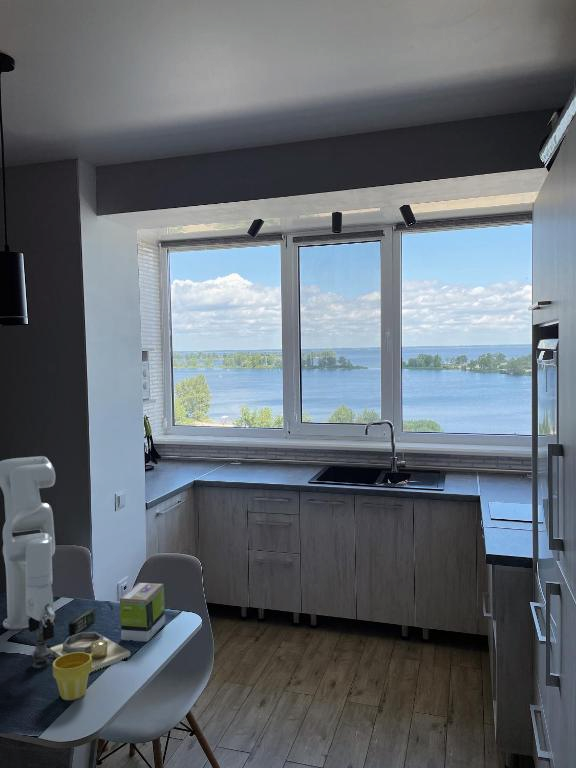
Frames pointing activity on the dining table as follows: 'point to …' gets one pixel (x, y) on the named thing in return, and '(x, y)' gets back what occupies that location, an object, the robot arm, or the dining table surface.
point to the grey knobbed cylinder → (40, 651)
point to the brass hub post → (99, 649)
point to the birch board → (113, 651)
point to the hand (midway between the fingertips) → (41, 634)
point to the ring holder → (78, 637)
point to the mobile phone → (82, 621)
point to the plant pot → (72, 674)
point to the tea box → (142, 611)
